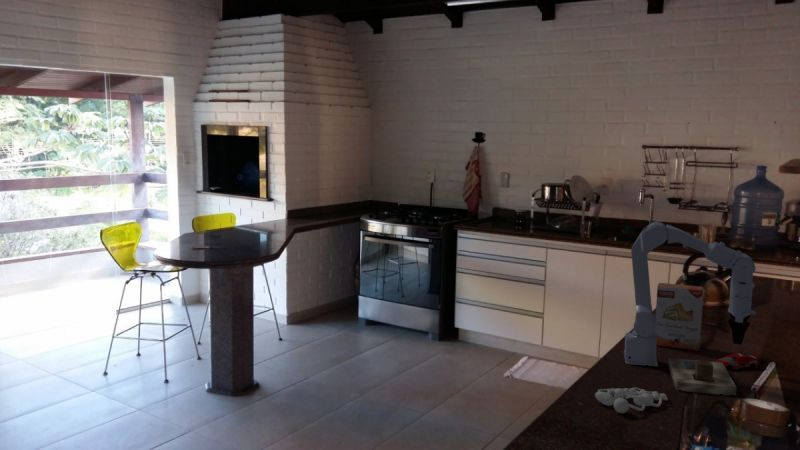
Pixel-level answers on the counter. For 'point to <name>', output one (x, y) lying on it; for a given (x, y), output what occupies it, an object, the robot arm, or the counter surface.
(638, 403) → the tangled rod sculpture
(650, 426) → the counter surface
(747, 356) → the race car
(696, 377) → the walnut peg
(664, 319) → the cracker box
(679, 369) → the birch board
